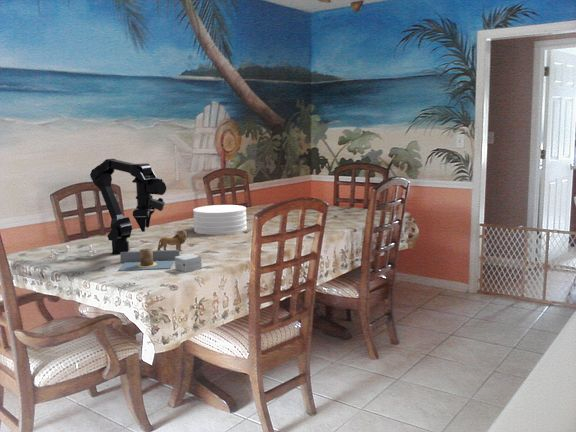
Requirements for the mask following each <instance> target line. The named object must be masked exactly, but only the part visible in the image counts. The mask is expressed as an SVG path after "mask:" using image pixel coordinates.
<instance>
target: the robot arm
mask: <svg viewBox="0 0 576 432" xmlns="http://www.w3.org/2000/svg"><path fill="white" fill-rule="evenodd" d="M115 171H119V172H123V173H128V174H130V176H132V177H134V178H133V180H132V181H131V183H134V184H135V186H136V187H135V188H136V189H135V190H136V196H135V200H136V203H137V205H136V206H135V207H136V208H135V209H133V211H132V217H133V218H134V220H135V222H136V223H137V225H138V228H139V229H140V231H141V232H142V233H143V232H144V233H145V230H146V228H149V227H150V224H151V218H152V215H153V214H154V213H155V210H158V211H159V212H162V211H163V210H164V206H165V204H166V202H165V201H164V199H163V198H161V197H159V198H158V199H155V198H153V195H157V196H163V195H164V194H165V193H166V191H167V185H166V183H165V181H163V180H164V179H163V178H160V177H159V178H158V177H157V174H155V172H154V170H153V168H152V167H151V164H150V163H134V162H133V163H132V162H127V161H123V160H120V159H116V158H107V159H104V161H102V163H100V164H97V166H96V167H94V168H92V170H90V173H89V176H90V180H91V181H92V183H93V184H94V185H95V186H96V187H97V188H98V189H99V190H100V193H101V195H102V199H103V200H104V203H105V205H106V208H107V211H108V213H109V216H110V218H111V220H110V229H111V230H110V232H109V233H108V234H107V239H108V241H111V249H112V252H111V255H120V252H130V241H128V238H131V236H132V235H131V234H132V232H133V231H132V230H133V224H132V222H131V219H130V217H129V216H124V215H123V213H122V209H121V207H120V205H119V202H118V200H117V198H116V195H115V192H114V190H113V187H112V180H113V178H112V175H113V174H114V173H115Z"/></svg>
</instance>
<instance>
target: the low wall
mask: <svg viewBox="0 0 576 432" xmlns="http://www.w3.org/2000/svg"><path fill="white" fill-rule="evenodd" d="M119 256H120V263H125V262H140V250H137V251H128V252H120V254H119ZM176 256H181V255H180V251H179V250H176V249H169V250H168V249H166V250H164V249H163V250H161V251H157V250H153V261H173V260H174V261H175V257H176Z"/></svg>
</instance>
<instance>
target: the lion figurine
mask: <svg viewBox="0 0 576 432" xmlns="http://www.w3.org/2000/svg"><path fill="white" fill-rule="evenodd" d="M187 238H188V233H187V231H186V230H184V229H181V230H179V231H178V233H176V234H175V235H174V236H172V237H170V236H169V237H166V236H165V237H164V236H163V237H161V238H160V240H159V242H158V246H157V249H156V251H162V250H161V249H162V248H163V250H167V246H168V245H169V246H175V250H179V252H183V250H182V249H181V247H182V245H183V244H184V243H186V240H187Z"/></svg>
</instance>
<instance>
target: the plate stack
mask: <svg viewBox="0 0 576 432" xmlns="http://www.w3.org/2000/svg"><path fill="white" fill-rule="evenodd" d="M192 212H193V227H194V228H193V230H194V232H195V233H196V234H200V235H201V234H202V235H208V236H209V235H211V236H212V235H213V236H214V235H219V236H220V235H221V236H222V235H231V234H232V235H233V234H236V233H237V234H238V233H241V232H245V231H247V230H248V226H247V225H248V224H247V223H248V222H247V207H246V206H244V205H236V204H213V205H203V206H198V207H195V208H193V209H192Z"/></svg>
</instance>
